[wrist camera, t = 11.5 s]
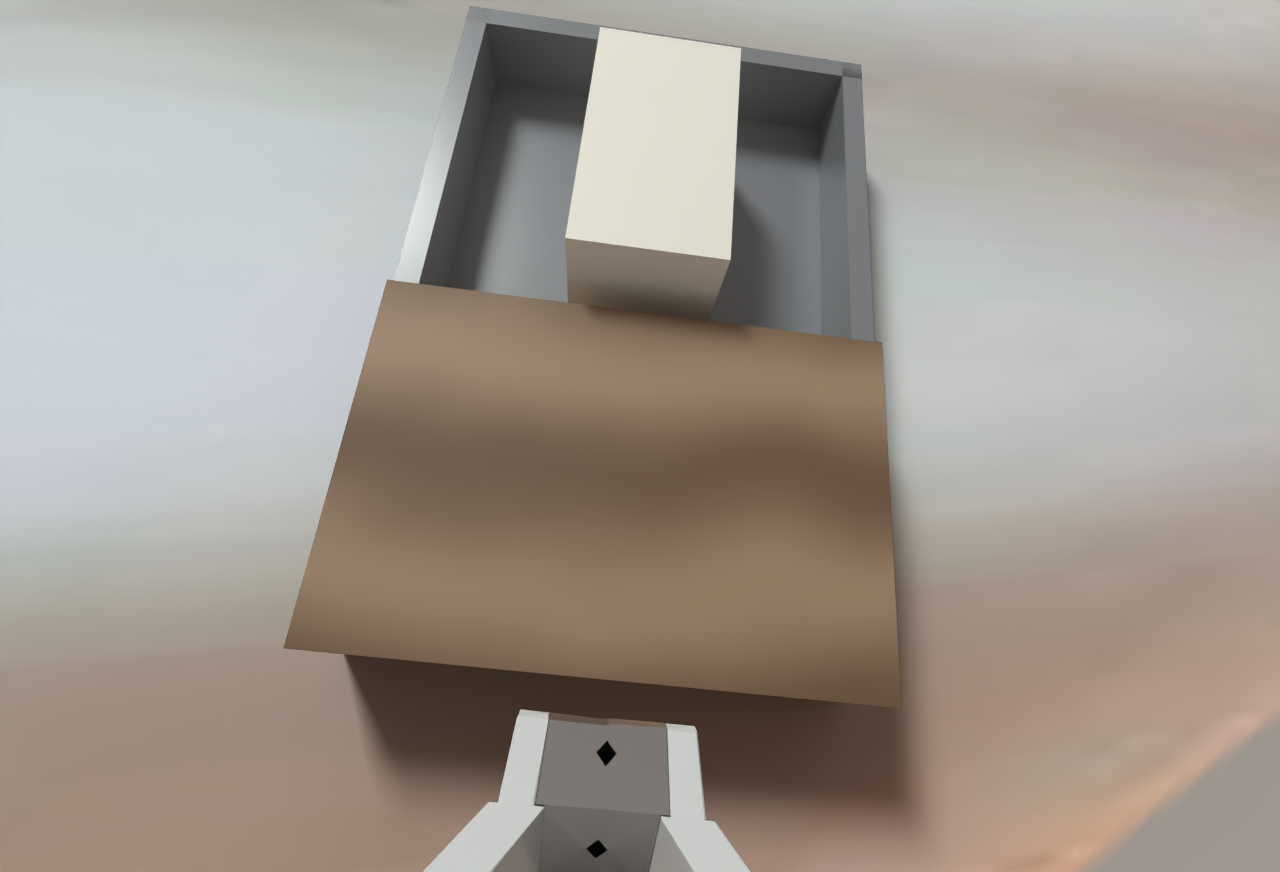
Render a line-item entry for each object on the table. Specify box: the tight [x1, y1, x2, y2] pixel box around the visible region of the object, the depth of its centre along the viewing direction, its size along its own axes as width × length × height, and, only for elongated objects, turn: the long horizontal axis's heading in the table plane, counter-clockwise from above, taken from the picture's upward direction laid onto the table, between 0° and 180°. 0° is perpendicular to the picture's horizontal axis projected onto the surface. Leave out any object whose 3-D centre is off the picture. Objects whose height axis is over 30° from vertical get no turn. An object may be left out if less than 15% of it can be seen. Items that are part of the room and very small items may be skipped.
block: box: [565, 27, 741, 320], centre depth 22 cm, size 5×5×9 cm
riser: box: [284, 280, 901, 708], centre depth 20 cm, size 11×16×4 cm
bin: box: [394, 6, 875, 342], centre depth 24 cm, size 13×16×4 cm
